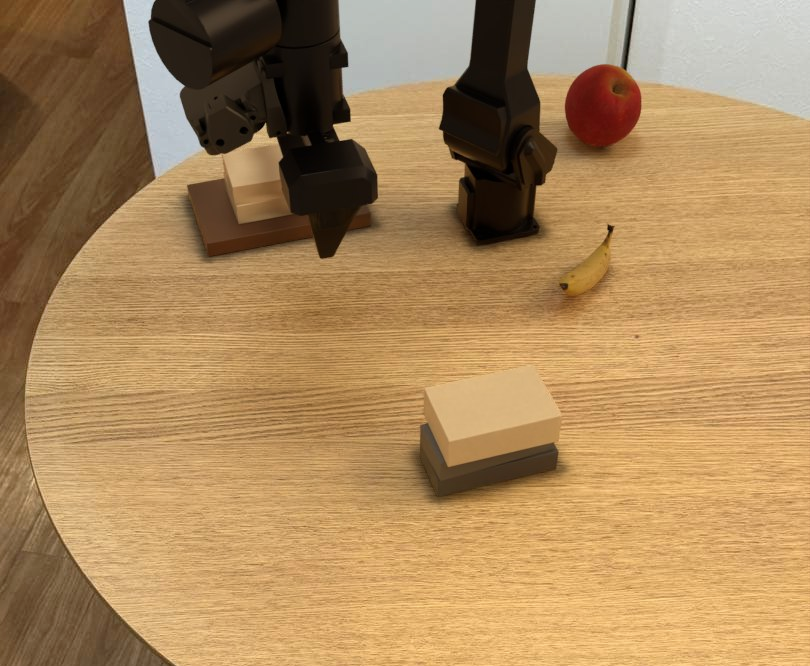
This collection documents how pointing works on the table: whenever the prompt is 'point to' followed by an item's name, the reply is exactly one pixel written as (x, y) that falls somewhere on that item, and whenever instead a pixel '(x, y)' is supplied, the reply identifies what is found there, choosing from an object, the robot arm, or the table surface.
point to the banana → (588, 269)
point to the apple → (603, 105)
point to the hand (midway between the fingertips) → (312, 221)
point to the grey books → (481, 465)
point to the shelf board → (247, 233)
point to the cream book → (491, 415)
